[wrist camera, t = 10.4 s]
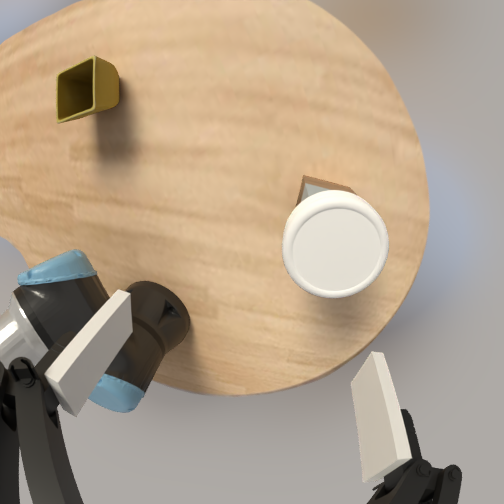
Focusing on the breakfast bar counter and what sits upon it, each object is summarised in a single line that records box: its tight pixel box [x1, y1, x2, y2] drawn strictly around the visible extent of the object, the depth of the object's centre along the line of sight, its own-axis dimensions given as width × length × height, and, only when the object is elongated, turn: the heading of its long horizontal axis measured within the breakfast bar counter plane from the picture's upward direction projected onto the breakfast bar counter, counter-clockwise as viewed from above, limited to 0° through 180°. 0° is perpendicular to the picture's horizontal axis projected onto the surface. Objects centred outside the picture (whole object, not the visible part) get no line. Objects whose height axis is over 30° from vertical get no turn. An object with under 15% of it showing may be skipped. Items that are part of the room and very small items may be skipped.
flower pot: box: [56, 56, 119, 123], centre depth 31 cm, size 9×9×9 cm
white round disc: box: [282, 190, 389, 298], centre depth 25 cm, size 10×10×4 cm
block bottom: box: [296, 175, 358, 207], centre depth 36 cm, size 7×7×7 cm
